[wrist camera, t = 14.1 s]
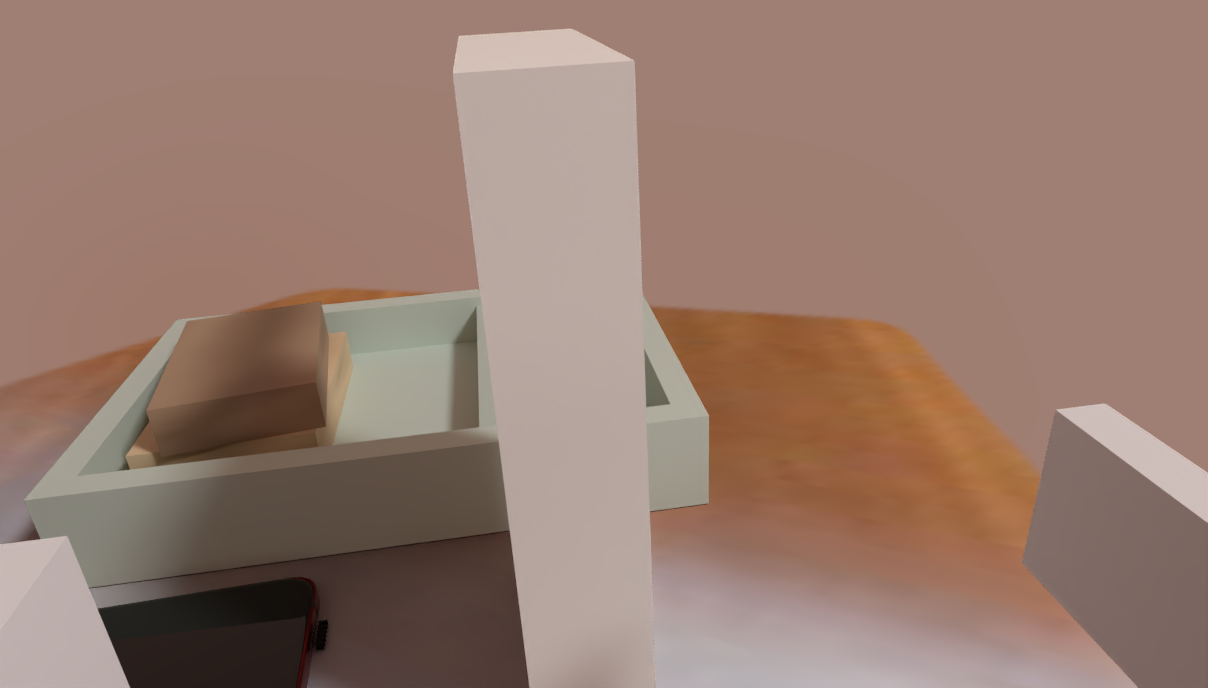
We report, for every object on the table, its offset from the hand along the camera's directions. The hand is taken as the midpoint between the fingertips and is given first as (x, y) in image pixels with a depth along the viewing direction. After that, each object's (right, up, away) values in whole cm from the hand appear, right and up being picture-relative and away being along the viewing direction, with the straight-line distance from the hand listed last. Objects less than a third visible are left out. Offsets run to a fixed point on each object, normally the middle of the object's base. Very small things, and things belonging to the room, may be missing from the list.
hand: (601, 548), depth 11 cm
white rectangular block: (-1, -7, +14) cm, 16 cm away
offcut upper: (-15, +1, +24) cm, 28 cm away
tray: (-9, -2, +27) cm, 28 cm away
